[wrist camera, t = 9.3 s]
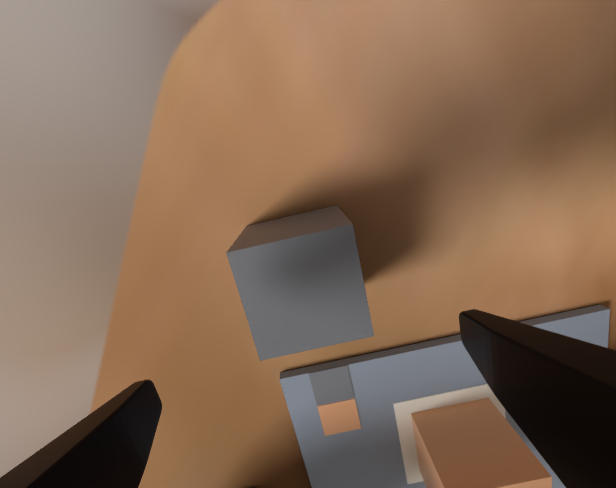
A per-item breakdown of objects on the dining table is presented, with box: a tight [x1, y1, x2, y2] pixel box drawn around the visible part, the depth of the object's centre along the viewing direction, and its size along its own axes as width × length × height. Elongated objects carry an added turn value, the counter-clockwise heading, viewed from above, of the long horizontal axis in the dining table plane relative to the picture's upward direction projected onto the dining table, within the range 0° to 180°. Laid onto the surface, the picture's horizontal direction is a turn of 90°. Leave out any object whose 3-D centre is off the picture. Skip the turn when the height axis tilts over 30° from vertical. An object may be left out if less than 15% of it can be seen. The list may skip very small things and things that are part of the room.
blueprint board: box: [280, 305, 610, 488], centre depth 20 cm, size 20×14×1 cm
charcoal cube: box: [227, 205, 374, 361], centre depth 15 cm, size 5×5×5 cm
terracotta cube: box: [411, 398, 552, 488], centre depth 18 cm, size 5×5×5 cm
